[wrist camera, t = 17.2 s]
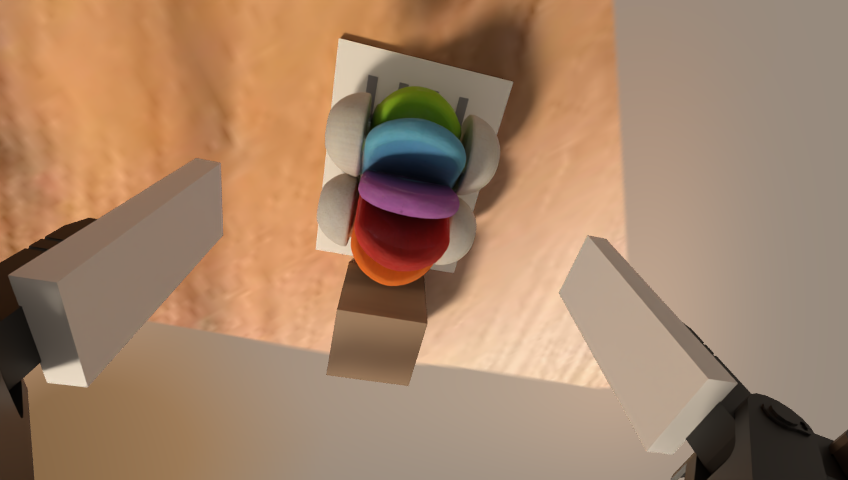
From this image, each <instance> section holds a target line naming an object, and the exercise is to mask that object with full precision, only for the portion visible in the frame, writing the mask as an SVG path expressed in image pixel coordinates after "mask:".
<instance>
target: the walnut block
mask: <svg viewBox="0 0 848 480" xmlns="http://www.w3.org/2000/svg"><path fill="white" fill-rule="evenodd" d="M426 327H427V311H426V297H425V284H424V275H423V276H422V277H420V278H419V279H417V280H415V281H413V282H411V283H408V284H405V285H399V286H387V285H383V284H380V283H378V282H376V281H374V280H373V279H371V278H370V277H369V276H367V275H366V274H365V273H364V272H363V271H362V270H361V269H360V267H359V266H358V264H357V263H353V262H349V265H348V269H347V273H346V277H345V280H344V284H343V288H342V292H341V296H340V300H339V304H338V308H337V313H336V319H335V325H334V331H333V337H332V344H331V350H330V356H329V362H328V368H327V374H326V375H331V376H338V377H345V378H353V379H360V380H368V381H375V382H383V383H391V384H399V385H405V386H408V385H409V382H410V379H411V376H412V372H413V369H414V366H415V363H416V359H417V356H418V353H419V350H420V346H421V343H422V340H423V337H424V333H425V330H426Z"/></svg>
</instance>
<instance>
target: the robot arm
mask: <svg viewBox="0 0 848 480" xmlns="http://www.w3.org/2000/svg"><path fill="white" fill-rule="evenodd" d="M222 236H223V217H222V187H221V163H219V162H214V161H209V160H204V159H199V158H195V159H194V160H192V161H190V162H189V163H187V164H186V165H184V166H182V167H181V168H179V169H178V170H176V171H174V172H173V173H171V174H169V175H168V176H166V177H165V178H163V179H161V180H160V181H158V182H157V183H155V184H153V185H152V186H150V187H149V188H147V189H145V190H144V191H142V192H141V193H139V194H137V195H136V196H134V197H133V198H131V199H129V200H128V201H126V202H125V203H123V204H121V205H120V206H118V207H116V208H115V209H113V210H112V211H110V212H108V213H107V214H105V215H104V216H102V217H100V218H99V219H93V218H87V219H84V220H81V221H77V222H74V223H71V224H68V225H65V226H63V227H61V228H59V229H57V230H56V231H54V232H52V233H51V234H49V235H47V236H45V239H40V240H39V241H37V242H35V243H33V244H32V245H30V246H29V248H28V249H23V250H21V251H20V252H18V253H16V254H14V255H13V256H11V257H9V258H8V259H6V260H4V261H2V262H1V263H0V480H34V470H33V457H32V443H31V430H30V416H29V403H28V390H27V387H26V384H25V382H24V379H23V378H24V377H25V376H26V375H27V374H28V373H29V372H30V371H31V370H33V369H34V368H35V367H36V366H37V365H38V364H39V363H40V364H41V367H42V370H43V373H44V375H45V378H46V380H47V383H55V384H64V385H72V386H81V387H88V386H89V385H90V384H91V383H92V382H93V381H94V379H96V377H97V376H98V375H99V374H100V373H101V372H102V371H103V370H104V368H105V367H106V366H107V365H108V364H109V362H111V361H112V359H113V358H114V357H115V356H116V355H117V354H118V353H119V352H120V350H121V349H122V348H123V347H124V346H125V345H126V344H127V343H128V341H129V340H130V339H131V338H132V337H133V336H134V335H135V334H136V332H137V331H138V330H139V329H140V328H141V327H142V326H143V325H144V323H145V322H146V321H147V320H148V319H149V318H150V317H151V316H152V314H153V313H154V312H155V311H156V310H157V309H158V308H159V307H160V305H161V304H162V303H163V302H164V301H165V300H166V299H167V298H168V296H169V295H170V294H171V293H172V292H173V291H174V290H175V289H176V287H177V286H178V285H179V284H180V283H181V282H182V281H183V280H184V278H185V277H186V276H187V275H188V274H189V273H190V272H191V271H192V269H193V268H194V267H195V266H196V265H197V264H198V263H199V262H200V260H201V259H202V258H203V257H204V256H205V255H206V254H207V253H208V251H209V250H210V249H211V248H212V247H213V246H214V245H215V244H216V242H217V241H218V240H219V239H220V238H221V237H222ZM559 294H560V296H561V298H562V300H563V302H564V303H565V305H566V307H567V309H568V311H569V313H570V314H571V316H572V318H573V320H574V322H575V323H576V325H577V327H578V329H579V331H580V332H581V334H582V336H583V338H584V340H585V341H586V343H587V345H588V347H589V349H590V350H591V352H592V354H593V356H594V358H595V360H596V361H597V363H598V365H599V367H600V369H601V370H602V372H603V374H604V376H605V378H606V379H607V381H608V383H609V385H610V387H611V388H612V390H613V392H614V394H615V396H616V397H617V399H618V401H619V403H620V405H621V406H622V408H623V410H624V412H625V414H626V415H627V417H628V419H629V421H630V423H631V424H632V426H633V428H634V430H635V431H636V434H637V435H638V437H639V439H640V441H641V442H642V444H643V446H644V448H645V450H646V451H647V452H655V453H664V454H674V453H675V451H676V450H677V449H678V448H679V447H680V446H681V445H682V444H683V443H684V442H685V441H686V440H687V441H688V443H689V444H690V445H691V447H692V449H693V450H694V453H693V454H692V455H691V457H690V458H688V460H687V461H686V462H685V463H684V464H683V465H682V466H681V467H680V468H679V469H678V470H677V471H676V472H675V473H674V474H673V476H672V478H671V480H678V479H679V478H682V477H685V480H848V430H847V431H845V432H844V433H843V434H842V435H841V436H839V437H838V438H837V439H836V440H835V441H833V440H830V439H828V438H825V437H822V436H820V435H817V434H815V433H814V432H813V431H812V429H811V428H810V427H809V425H808V424H807V423H806V422H805V421H804V420H803V419H802V418H801V417H800V416H798V415H797V414H796V413H795V412H794V411H792V410H791V409H790V408H788V407H786V406H785V405H783V404H782V403H780V402H779V401H777V400H774V399H772V398H770V397H768V396H765V395H761V394H757V393H756V394H751V393H750V392H749V391H748V390H747V389H746V388H745V387H744V385H742V383H741V382H740V381H739V380H738V379H737V378H736V377H735V376H734V375H733V374H732V373H731V371H730V370H729V369H728V368H727V367H726V366H725V365H724V364H723V363H722V362H721V361H720V359H719V358H718V357H717V356H714V355H713V354H714V353H713V352H712V351H711V350H710V349H709V348H708V347H707V345H704V344H703V343H704V342H703V341H702V340H701V339H700V338H699V337H698V336H697V335H696V334H695V332H694V331H693V330H692V329H691V328H689V327H688V326H687V325H685V324H684V323H683V322H681V320H680V319H679V318H678V317H677V316H676V315H675V314H674V313H673V312H672V311H671V310H670V308H669V307H668V306H667V305H666V304H665V303H664V302H663V301H662V300H661V299H660V297H659V296H658V295H657V294H656V293H655V292H654V291H653V290H652V289H651V288H650V286H648V284H647V283H646V282H645V281H644V280H643V279H642V278H641V277H640V276H639V275H638V273H637V272H636V271H635V270H634V269H633V268H632V267H631V266H630V265H629V263H628V262H627V261H626V260H625V259H624V258H623V257H622V256H621V255H620V254H619V253H618V251H617V250H616V249H615V248H614V247H613V246H612V245H611V244H610V243H609V242H608V241H607V239H604V238H599V237H594V236H589V235H587V237H586V239H585V241H584V243H583V245H582V247H581V249H580V251H579V253H578V255H577V257H576V259H575V261H574V263H573V265H572V267H571V269H570V271H569V273H568V275H567V277H566V279H565V281H564V283H563V285H562V287H561V289H560V291H559Z"/></svg>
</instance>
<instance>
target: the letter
mask: <svg viewBox="0 0 848 480" xmlns="http://www.w3.org/2000/svg"><path fill="white" fill-rule="evenodd" d="M512 85H513V82H512V81H509V80H505V79H501V78H497V77H493V76H489V75H485V74H481V73H477V72H473V71H469V70H465V69H461V68H457V67H453V66H449V65H445V64H441V63H437V62H433V61H429V60H425V59H421V58H417V57H413V56H409V55H405V54H401V53H397V52H393V51H389V50H385V49H381V48H377V47H373V46H369V45H365V44H361V43H357V42H353V41H349V40H345V39H341V38H339V42H338V51H337V60H336V69H335V78H334V87H333V96H332V105H331V109H332V107H333V106H334V105H335V104H336V103H337V102H338V101H339V100H341V99H342V98H344V97H346V96H348V95H350V94H354V93H360V92H367V93H370V94H371V96H372V102H371V111H370V114H371V115H372V114H373V112H374V110H375V108H376V106H377V105H378V104H380V103H381V102H382V101H383V100H384V99H385V98H386V97H387V96H389V95H390V94H392V93H393V92H395V91H397V90H399V89H401V88H405V87H410V86H419V87H425V88H428V89H431V90H434V91H436V92H437V93H439V94H440V95H441V96H442V97H443V98H444V99H446V100H447V102H448V103H449V104H450V105H451V107H452V108H453V109H454V111H455V114H456V116H457V118H458V121H459V123H460V126H461V127H462V124H463V122H464V121H465V119H466V118H467V117H468V116H469V115H476V116H478V117H480V118H481V119H483V120H484V121H486V122H487V123H488V124H489V125H490V126H491V127H492V128H493V130H494V131H495V133H496V135H497V133H498V130H499V127H500V123H501V120H502V117H503V114H504V111H505V107H506V104H507V101H508V98H509V95H510V91H511V88H512ZM343 173H345V172H344V171H342V170H341V169H340V168H338V167H337V166H336V165H335V163H334V162H333V161H332V159H331V158H330V157H329V155H328V153H327V151H326V160H325V169H324V178H323V187H324V185H325V184H326V183H327V182H328V181H329V180H331V179H332V178H334V177H335V176H337V175H340V174H343ZM360 175H361V176H362V174H360ZM360 180H361V178H360ZM323 187H322V189H323ZM479 191H480V190H478V191H476V192H474V193H471V194H467V195H457V196H458V197H460V198H461V199H462V200H464V201H465V202H466V203H467V204H468V205H469V207H470V208H471V210H472V211H473V210H474V207H475V204H476V201H477V197H478V194H479ZM316 250H322V251H328V252H334V253H339V254H345V255H351V256H353V254H352V250H351V237H350V239H349V241H348V244H347V245H346V246H340V245H338V244H336V243H334V242H333V241H331V240H330V239H329V238H327V237H326V235H325V234H324V233H323V232H322V230H321V229H320V227H319V224H318V233H317V242H316ZM457 261H458V260H457ZM457 261H455V262H453V263H450V264H445V265H437V264H433V265H432V267H431V268H430V269H432V270H438V271H444V272H450V273H454V271H455V268H456V265H457Z"/></svg>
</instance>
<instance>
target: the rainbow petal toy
mask: <svg viewBox="0 0 848 480" xmlns="http://www.w3.org/2000/svg"><path fill="white" fill-rule="evenodd" d="M371 102H372V96H371V94H370V93H367V92H360V93H354V94H350V95H348V96H346V97H344V98H342V99H341V100H339V101H338V102H337V103H336V104H335V105H334V106H333V107H332V109H331V110H330V113H329V116H328V120H327V126H326V132H325V147H326V150H327V153H328V155H329V157H330V158H331V159H332V161H333V162H334V163H335V165H336V166H337V167H338V168H340V169H341V170H342V171H344V172H345V173H343V174H340V175H337V176H335V177H334V178H332V179H331V180H329V181H328V182H327V183H326V184H325V185H324V187H323V189H322V191H321V195H320V199H319V204H318V210H317V222H318V224H319V227H320V229H321V230H322V232H323V233H324V234H325V235H326V237H327V238H329V239H330V240H331V241H333V242H334V243H336V244H338V245H340V246H346V245H347V244H348V241H349V239H350V237H351V250H352V254H353V256H354V259H355V261H356V263H357V264H358V266H359V267H360V269H361V270H362V271H363V272H364V273H365V274H366V275H367V276H369V277H370V278H371V279H373V280H374V281H376V282H378V283H380V284H383V285H387V286H399V285H405V284H408V283H411V282H413V281H415V280H417V279H419V278H420V277H422V276H423V275H424V274H425V273H426V272H427V271H428V270H429V269H430V268H431V267H432V265H433V264H437V265H445V264H450V263H453V262H455V261H457V260H459V259H461V258H462V257H463V256H465V255H466V254H467V253H468V251H469V250H470V248H471V247H472V244H473V242H474V239H475V234H476V219H475V216H474V214H473V211H472V210H471V208H470V207H469V205H468V204H467V203H466V202H465V201H464V200H462V199H461V198H460V197H458V196H457V195H467V194H471V193H474V192H476V191H478V190H480V189H482V188H483V187H484V186H486V185H487V184H488V183H489V182H490V181H491V179H492V178H493V176H494V175H495V172H496V170H497V167H498V164H499V159H500V144H499V140H498V137H497V135H496V133H495V131H494V130H493V128H492V127H491V126H490V125H489V124H488V123H487V122H486V121H484V120H483V119H481V118H480V117H478V116H476V115H469V116H468V117H467V118H466V119H465V121H464V122H463V124H462V127H461V126H460V123H459V121H458V118H457V116H456V114H455V111H454V109H453V108H452V107H451V105H450V104H449V103H448V102H447V100H446V99H444V98H443V97H442V96H441V95H440V94H439V93H437V92H436V91H434V90H431V89H428V88H425V87H419V86H410V87H405V88H401V89H399V90H397V91H395V92H393V93H392V94H390V95H389V96H387V97H386V98H385V99H384V100H383V101H382V102H381V103H380V104H378V105H377V106H376V108H375V110H374V112H373V114H372V115H371V114H370V111H371ZM360 174H362V176H361V175H360ZM360 178H361V180H360Z"/></svg>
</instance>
